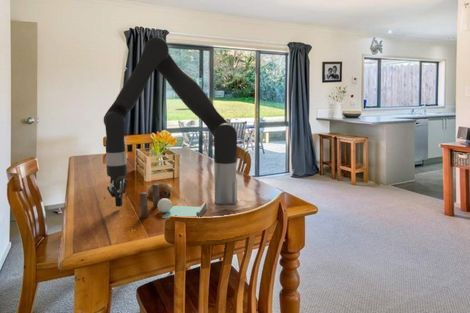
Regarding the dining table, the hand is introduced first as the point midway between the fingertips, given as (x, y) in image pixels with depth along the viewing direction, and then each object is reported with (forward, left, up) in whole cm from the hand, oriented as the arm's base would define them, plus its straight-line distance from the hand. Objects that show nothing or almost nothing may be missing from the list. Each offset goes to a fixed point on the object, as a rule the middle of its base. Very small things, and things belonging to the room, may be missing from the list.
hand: (119, 205), depth 140 cm
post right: (-13, -6, -2) cm, 15 cm away
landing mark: (-27, 0, -2) cm, 27 cm away
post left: (-13, +6, -2) cm, 15 cm away
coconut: (-9, -21, -2) cm, 23 cm away
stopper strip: (-34, 0, -2) cm, 34 cm away
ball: (-19, +1, +1) cm, 19 cm away
